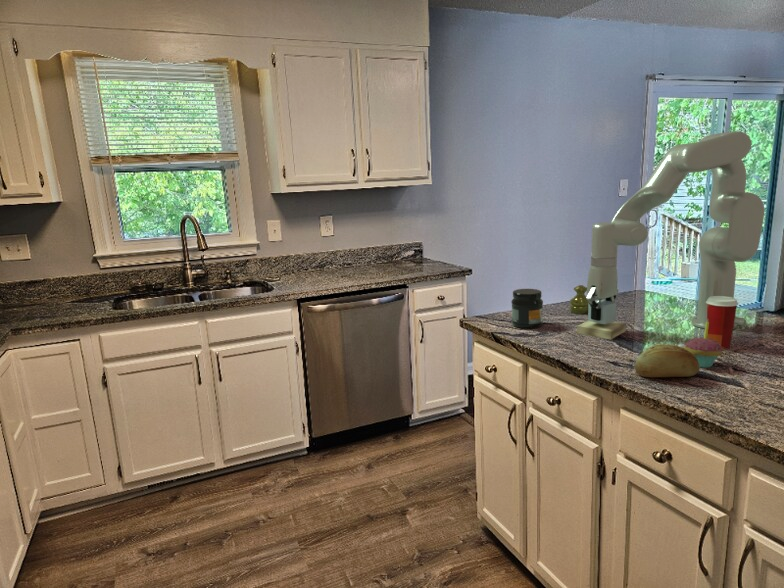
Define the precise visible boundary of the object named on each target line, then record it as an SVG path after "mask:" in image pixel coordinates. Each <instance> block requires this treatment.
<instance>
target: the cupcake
mask: <svg viewBox="0 0 784 588" xmlns="http://www.w3.org/2000/svg"><path fill="white" fill-rule="evenodd" d="M708 326H709V322H708V320H707V322H706V327H705V328H704V336H703V337H698V336H697V337H694V338H690V339H689V340H688V341H686V342H685V344H684V347H683V348H684V349H686V350H688V351H689V352H691V353H692V354H693V355H694V356H695V357H696V359H697V360H698V363H699V368H712V367H713V365H714V363H715V361H716V359H717V358H718V356H721V355H723V349H722V347H721V345H720V344H719V343H718V342H716V341H714V340H711V339H708V338H707V334H708Z"/></svg>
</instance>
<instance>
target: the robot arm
mask: <svg viewBox="0 0 784 588" xmlns="http://www.w3.org/2000/svg"><path fill="white" fill-rule="evenodd" d="M751 149H752V140H751V137H750V136H749V135H748V134H747V133H745V132H743V131H738V130H737V131H736V130H735V131H728V132H719V133H712V134H709V135H707V136H706V135H705V136H704V137H702V138H701V139H700V140H699V141H696V142H690V143H689V142H688V143H681V144H676V145H674V146H672V147H671V148H669V150H668V151H666V153H665V154H664V156H663V157H662V158H661V159H660V162H659V163H658V165H657V166H656V167H655V169H654V170H653V172H652V174H651V175H650V176H649V178H648V179H647V181H646V182H645V183H644V185H643V186H642V187H641V188H640V189H639V190H638V191H637V190H636V192H635V193H634V194H633V195H632V196H631V197H630V198H628V199H627V200H626V201H625V203H623V204H622V206H620V208H619V209H618V211H617V212H616V214H615V215H614V217H613V219H612V220H611V221H609V222H608V221H607V222H603V221H602V222H597V223H594V224H593V225H592V227H591V250H590V251H591V254H590V267H589V271H588V275H587V285H586V287H587V291H586V297H587V298H586V300H587V301H588V302H589V304H590V307H591V319H593V320H598V321H600V320H601V308H600V304H601V300H605V301H611V302H616V299H617V295H618V293H619V289H618V269H617V268H618V246H626V247H627V246H629V247H636V246H639V245H641V244H644V242H645V241H646V240H647V238H648V236H649V235H648V234H649V233H648V228H647V227H646V226H645V225H644V224H643V223H642V222H639V220H640V219H642V217H644V215H645V214H647V213H648V212H650V211H651V210H653V209H655V208H657V207H660V206H661V205H664V204H665V203H667V202H668V201H670V199H671V198H672V197H673V196H674V195H675V192H677V189H678V188H679V187H680V185H681V184H682V182H683V181H684V179H686V177H687V176H688V174H689V173H695V174H696V173H700V172H705V171H708V170H709V171H711V173H712V186H711V192H710V193H711V194H710V200H709V210H708V213H709V217H710V218H711V220H713V221H715V222H718V223H721V224H728V227H727V226H726V227H725V226H717V227H712V228H709V229H706V231H705V232H704V233H703V234H702V235H701V236H700V239H699V248H698V249H699V255H700V275H699V288H698V289H699V290H698V301H697V302H698V303H697V314H696V315H697V316H696V317H693V318H691V319H690V320H691V325H692V326H694V327H697V328H700V329H705V327H706V322H707V303H706V301H707V299H708V298H709V297H711V296H726V297H732V298H735V297H734V296H735V288H736V286H735V285H736V279H737V267H736V263H735V262H737V263H739V262H740V263H742V262H743V263H744V262H746V261H749V260H751V259H753V257H754V256H755V255H756V254H757V252H758V249H759V246H760V241H761V235H762V229H763V223H764V219H765V205H764V201H763V200H762V198H761V197H760V196H759V195H757V194H755V193H753V192H746V182H747V170H746V166H745V163H744V161H743V159H745V157H746V156H747V155H748V154H749V153H750V151H751ZM596 300H598V301H597V303H596V302H595V301H596ZM736 314H737V313H735V320H734V327H733V330H734V329H736V328H738V326H744V327H745V326H746V324H747V319H746V318H744V317H739V316H738V317H737V316H736Z"/></svg>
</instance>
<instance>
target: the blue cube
mask: <svg viewBox="0 0 784 588" xmlns="http://www.w3.org/2000/svg"><path fill="white" fill-rule="evenodd" d="M597 301H598V300H595V302H596V303H597ZM617 303H618V302H616V301H615V302H611V301H605V299H602V300H601V304H600V308H601V320H600V321H598V320H593V319H591V307H590V304H589V303H588V313H587V315H588V316H587V321H591V322H596V323H600V324H608V323H611V322H617Z"/></svg>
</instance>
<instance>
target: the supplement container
mask: <svg viewBox="0 0 784 588" xmlns="http://www.w3.org/2000/svg"><path fill="white" fill-rule="evenodd" d="M542 296H543V295H542V290H540V289H538V288H537V289H536V288H518V289H515V290H513V291H512V299H511V301H510V302H511V324H512V325H513V326H514V327H516V328H518V329H519V328H520V329H535V328H536V329H537V328H540V327H541V326H543V322H544V319H543V316H544V315H543V312H544V311H543V310H544V308H543V306H544V301H543V299H542Z"/></svg>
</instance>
